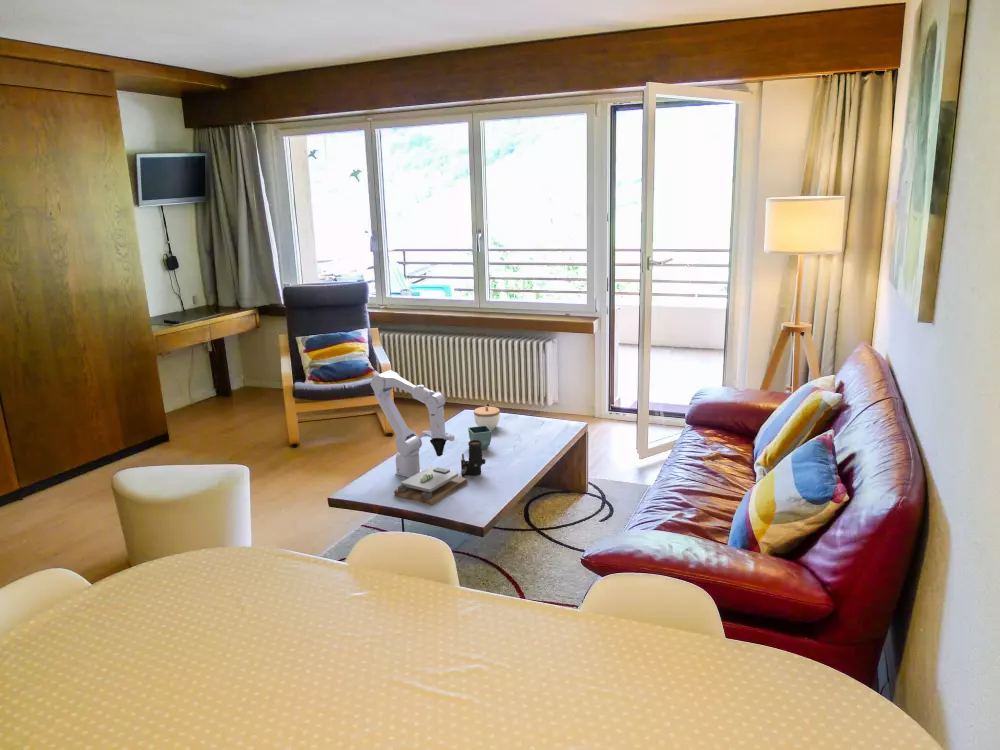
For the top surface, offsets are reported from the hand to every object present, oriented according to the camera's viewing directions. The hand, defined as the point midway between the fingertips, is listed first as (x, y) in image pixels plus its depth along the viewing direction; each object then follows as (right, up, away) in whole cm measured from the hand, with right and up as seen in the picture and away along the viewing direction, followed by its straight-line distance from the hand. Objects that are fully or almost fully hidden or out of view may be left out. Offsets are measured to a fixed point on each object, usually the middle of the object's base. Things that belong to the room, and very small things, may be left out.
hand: (439, 455), depth 283 cm
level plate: (-3, -9, -8) cm, 12 cm away
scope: (+13, -9, +7) cm, 17 cm away
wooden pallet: (-3, -13, -6) cm, 14 cm away
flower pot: (+15, -1, +36) cm, 39 cm away
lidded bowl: (+18, +6, +62) cm, 64 cm away
